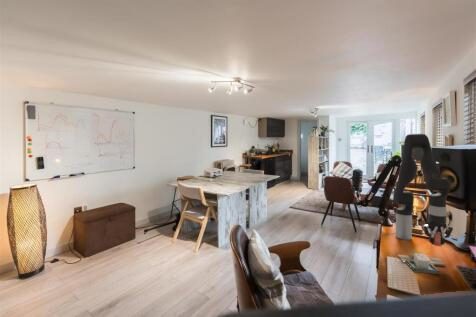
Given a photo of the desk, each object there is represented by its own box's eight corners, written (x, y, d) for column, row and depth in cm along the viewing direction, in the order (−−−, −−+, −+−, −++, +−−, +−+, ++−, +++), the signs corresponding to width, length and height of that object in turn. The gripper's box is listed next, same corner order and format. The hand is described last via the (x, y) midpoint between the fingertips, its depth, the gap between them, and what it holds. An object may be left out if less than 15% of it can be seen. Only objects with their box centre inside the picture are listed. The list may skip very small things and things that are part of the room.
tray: (406, 263, 129) (406, 259, 128) (429, 265, 126) (429, 261, 126) (414, 271, 120) (414, 268, 120) (439, 274, 117) (439, 270, 117)
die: (413, 260, 127) (414, 253, 126) (424, 261, 126) (425, 254, 124) (417, 267, 123) (418, 259, 121) (428, 268, 121) (430, 261, 119)
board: (397, 256, 136) (397, 254, 136) (437, 259, 131) (437, 258, 131) (402, 262, 129) (403, 260, 129) (445, 266, 124) (445, 264, 124)
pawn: (430, 242, 130) (430, 230, 130) (438, 243, 129) (439, 230, 129) (434, 245, 126) (434, 233, 126) (443, 246, 125) (443, 233, 125)
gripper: (448, 212, 128) (447, 242, 129) (418, 211, 132) (418, 240, 133) (457, 216, 121) (456, 247, 122) (425, 215, 125) (425, 245, 126)
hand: (436, 243), depth 128 cm, fingers closed on pawn, 4 cm apart
